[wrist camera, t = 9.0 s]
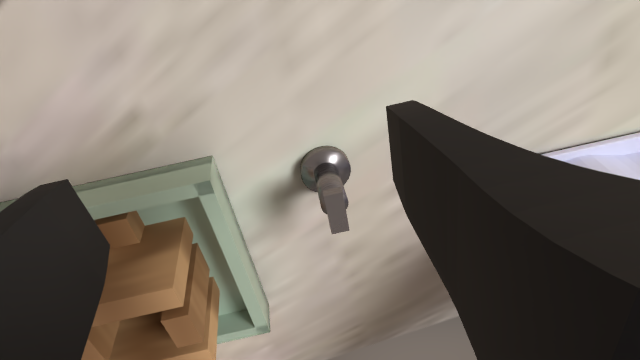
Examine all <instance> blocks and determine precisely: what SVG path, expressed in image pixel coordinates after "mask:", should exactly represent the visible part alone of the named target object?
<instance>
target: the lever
mask: <svg viewBox="0 0 640 360" xmlns="http://www.w3.org/2000/svg"><path fill="white" fill-rule="evenodd" d="M300 170H301V176H302V180H303V182H304V184H305V185H306V186H307V187H308V188H309V189H311V190H313V191H315V192H318V195H319V199H320V204H321V208H322V210H323V212H324V213H326V214H328V219H329V224H330V228H331V233H332V234H336V233H340V232H344V231H349V225H348V220H347V214H346V209H347V207H348V199H347V196H346V193H345V190H344V186H343V185H344V184H345V183H346V182H347V180H348V179H349V176H350V172H351V168H350V164H349V161H348V158H347V156H346V155H345V153H344V152H343V151H341V150H340V149H338V148H335V147H332V146H322V147H318V148H315V149H313V150H311V151H310V152H309V153H308V154H306V156H305V157H304V158H303V160H302V162H301V167H300Z"/></svg>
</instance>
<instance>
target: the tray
mask: <svg viewBox="0 0 640 360" xmlns="http://www.w3.org/2000/svg"><path fill="white" fill-rule="evenodd" d="M73 189H74V190H75V192H76V193H77V195H78V196H79V198H80V199H81V201H82V203H83V204H84V206H85V207H86V209H87V210H88V212H89V213H90V215H91V216H92V218H93V219H94V220H96V219H100V218H105V217H109V216H114V215H118V214H123V213H127V212H132V211H137V212H138V214H139V216H140V218H141V220H142V221H143V223H144V225H145V226H146V225H150V224H155V223H159V222H164V221H168V220H173V219H177V218H181V217H185V218H186V220H187V222H188V224H189V226H190V228H191V230H192V232H193V241H192V244H194V243H198V245H199V247H200V249H201V252H202V254H203V256H204V258H205V260H206V262H207V264H208V266H209V269H210V272H209V277H214V279H215V281H216V283H217V286H218V288H219V290H220V297H219V314H218V331H217V344H220V343H224V342H229V341H233V340H238V339H242V338H246V337H251V336H255V335H260V334H264V333H268V332H270V319H269V304H268V301H267V298H266V296H265V293H264V290H263V288H262V285H261V283H260V280H259V277H258V275H257V272H256V269H255V267H254V264H253V261H252V259H251V256H250V254H249V251H248V248H247V246H246V243H245V240H244V238H243V235H242V232H241V230H240V227H239V224H238V222H237V219H236V217H235V214H234V211H233V209H232V206H231V203H230V201H229V198H228V195H227V193H226V190H225V188H224V185H223V182H222V180H221V177H220V174H219V172H218V169H217V166H216V164H215V161H214V158H213V156H209V157H204V158H200V159H195V160H191V161H186V162H182V163H177V164H173V165H168V166H164V167H159V168H155V169H150V170H146V171H141V172H137V173H132V174H127V175H123V176H118V177H114V178H109V179H105V180H100V181H96V182H91V183H87V184H82V185H78V186H73ZM16 200H17V199H15V200H10V201H6V202H1V203H0V212H1V211H2V210H3V209H5V208H6V207H7V206H9V205H10V204H12V203H13V202H15V201H16Z"/></svg>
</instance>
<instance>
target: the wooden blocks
mask: <svg viewBox="0 0 640 360" xmlns="http://www.w3.org/2000/svg"><path fill="white" fill-rule="evenodd" d="M94 221H95V223H96V224H97V226H98V227H99V229H100V230H101V232H102V233H103V235H104V236H105V238H106V239H107V241H108V243H109V244H110V250H109V259H108V267H107V273H106V279H105V284H104V288H103V291H102V295H101V298H100V301H99V305H98V308H97V311H96V314H95V318H94V321H93V324H92V327H91V330H90V333H89V336H88V340H87V343H86V346H85V349H84V352H83V355H82V358H81V360H216V347H217V331H218V314H219V297H220V290H219V288H218V286H217V283H216V281H215V279H214V277H209V272H210V269H209V266H208V264H207V262H206V260H205V258H204V256H203V254H202V252H201V249H200V247H199V245H198V243H194V244H192V241H193V232H192V230H191V228H190V226H189V224H188V222H187V220H186V218H185V217H181V218H177V219H173V220H168V221H164V222H159V223H155V224H150V225H146V226H145V225H144V223H143V221H142V220H141V218H140V216H139V214H138V212H137V211H132V212H127V213H123V214H118V215H114V216H109V217H105V218H100V219H96V220H94Z"/></svg>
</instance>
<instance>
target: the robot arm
mask: <svg viewBox="0 0 640 360" xmlns="http://www.w3.org/2000/svg"><path fill="white" fill-rule="evenodd" d="M386 111H387V121H388V132H389V142H390V152H391V162H392V172H393V181H394V183H395V186H396V189H397V191H398V194H399V197H400V200H401V202H402V205H403V207H404V210H405V212H406V215H407V217H408V219H409V221H410V222H411V224H412V226H413V228H414V230H415V232H416V234H417V235H418V237H419V239H420V241H421V243H422V245H423V247H424V248H425V250H426V252H427V254H428V256H429V258H430V259H431V261H432V263H433V265H434V267H435V268H436V270H437V272H438V274H439V276H440V278H441V279H442V281H443V283H444V285H445V287H446V289H447V290H448V292H449V295H450V297H451V299H452V301H453V303H454V305H455V307H456V309H457V311H458V314H459V316H460V318H461V321H462V323H463V326H464V328H465V330H466V333H467V335H468V338H469V340H470V343H471V345H472V347H473V350H474V352H475V355H476V357H477V360H640V132H639V133H635V134H630V135H626V136H621V137H617V138H612V139H608V140H603V141H599V142H594V143H590V144H585V145H581V146H577V147H572V148H568V149H563V150H559V151H554V152H550V153H545V154H541V155H540V154H537V153H534V152H531V151H528V150H526V149H523V148H520V147H518V146H515V145H512V144H510V143H507V142H505V141H502V140H499V139H497V138H494V137H492V136H490V135H487V134H485V133H483V132H480V131H478V130H476V129H474V128H471V127H469V126H467V125H465V124H463V123H461V122H459V121H456V120H454V119H452V118H450V117H448V116H446V115H444V114H442V113H440V112H438V111H436V110H434V109H432V108H430V107H428V106H425V105H423V104H421V103H419V102H416V101H414V100H412V101H407V102H403V103H399V104H394V105H390V106H386ZM109 250H110V244H109V243H108V241H107V239H106V238H105V236H104V235H103V233H102V232H101V230H100V229H99V227H98V226H97V224H96V223H95V221H94V219H93V218H92V216H91V215H90V213H89V212H88V210H87V209H86V207H85V206H84V204H83V203H82V201H81V199H80V198H79V196H78V195H77V193H76V192H75V190H74V189H73V187H72V186H71V184H70V183H69V181H68V179H66V180H62V181H57V182H53V183H49V184H44V185H40V186H38V187H37V188H35V189H33V190H31V191H30V192H28V193H26V194H25V195H23V196H22V197H20V198H19V199H17V200H16V201H15V202H13V203H12V204H10V205H9V206H7V207H6V208H5V209H3V210H2V211H1V212H0V360H81V358H82V355H83V352H84V349H85V346H86V343H87V340H88V336H89V333H90V330H91V327H92V324H93V321H94V318H95V314H96V311H97V308H98V305H99V301H100V298H101V295H102V291H103V288H104V284H105V279H106V273H107V267H108V259H109Z"/></svg>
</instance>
